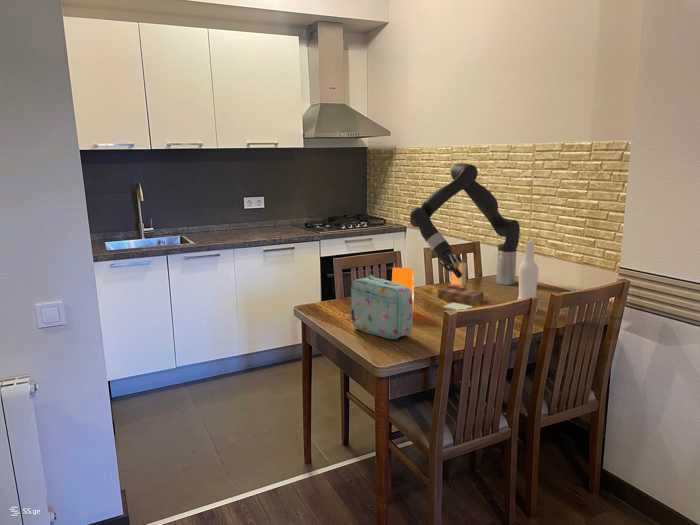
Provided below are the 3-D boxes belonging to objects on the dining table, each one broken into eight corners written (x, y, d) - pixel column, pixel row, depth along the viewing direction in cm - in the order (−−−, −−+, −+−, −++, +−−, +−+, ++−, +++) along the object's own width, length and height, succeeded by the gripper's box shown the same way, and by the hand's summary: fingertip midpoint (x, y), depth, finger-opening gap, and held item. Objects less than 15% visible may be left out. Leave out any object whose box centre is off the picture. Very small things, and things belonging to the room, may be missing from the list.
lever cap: (450, 283, 218) (451, 262, 216) (454, 282, 220) (455, 261, 218) (461, 285, 214) (462, 264, 212) (465, 284, 217) (466, 263, 215)
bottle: (532, 313, 209) (537, 243, 203) (513, 310, 214) (517, 241, 208) (538, 308, 216) (543, 240, 209) (520, 305, 220) (523, 238, 214)
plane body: (437, 297, 235) (437, 286, 234) (449, 293, 242) (449, 281, 241) (472, 305, 223) (472, 292, 222) (483, 300, 230) (483, 287, 229)
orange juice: (412, 316, 209) (412, 270, 205) (391, 315, 211) (391, 269, 207) (413, 310, 217) (413, 266, 212) (393, 310, 218) (393, 265, 214)
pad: (443, 307, 220) (443, 306, 220) (452, 303, 226) (452, 302, 226) (463, 312, 213) (463, 310, 213) (472, 307, 219) (472, 306, 219)
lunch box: (345, 327, 197) (344, 275, 193) (363, 321, 204) (363, 270, 200) (397, 344, 179) (397, 287, 174) (415, 337, 186) (415, 281, 181)
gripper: (435, 242, 213) (459, 274, 208) (452, 238, 224) (476, 268, 218) (424, 253, 218) (448, 284, 213) (442, 248, 228) (465, 278, 223)
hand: (462, 276), depth 215 cm, fingers closed on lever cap, 3 cm apart
